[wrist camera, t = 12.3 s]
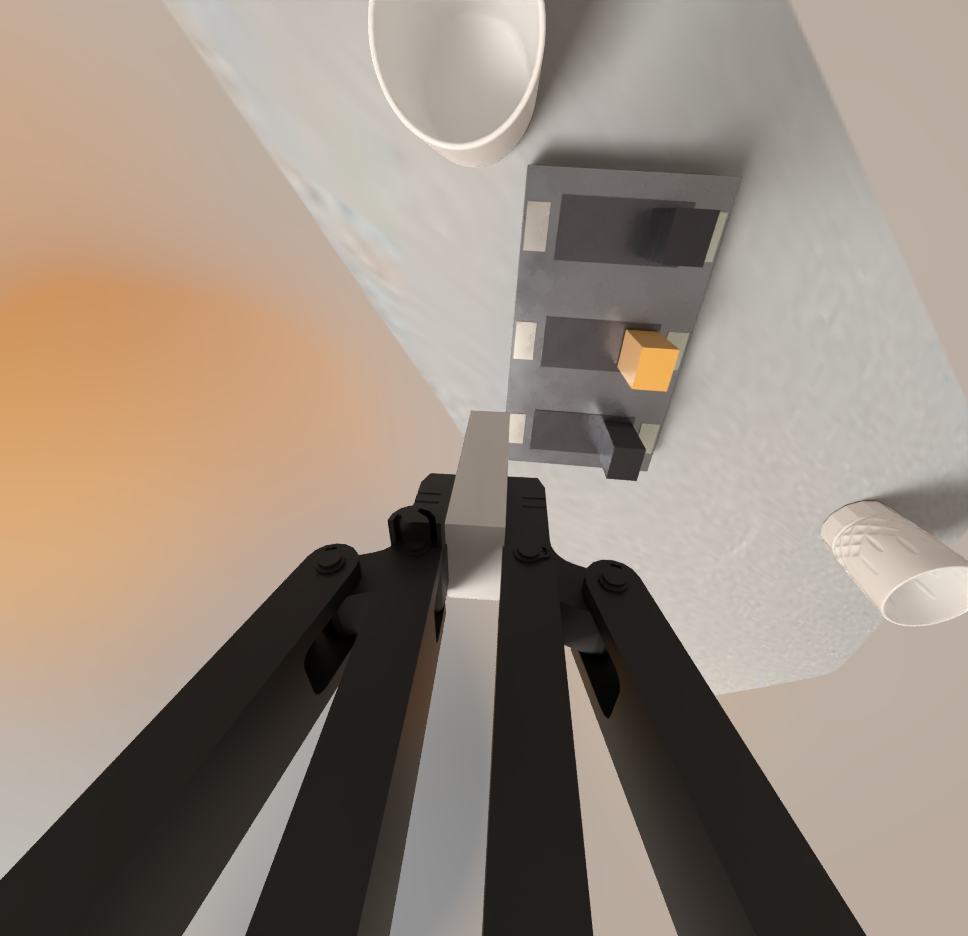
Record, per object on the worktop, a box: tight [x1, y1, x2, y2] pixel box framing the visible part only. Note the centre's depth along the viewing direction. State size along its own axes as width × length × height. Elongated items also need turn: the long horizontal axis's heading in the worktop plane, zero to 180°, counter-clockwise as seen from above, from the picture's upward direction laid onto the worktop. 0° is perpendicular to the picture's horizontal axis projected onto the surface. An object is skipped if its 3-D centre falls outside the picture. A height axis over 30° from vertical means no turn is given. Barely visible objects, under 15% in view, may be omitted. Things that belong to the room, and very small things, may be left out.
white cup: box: [820, 501, 968, 626], centre depth 40 cm, size 8×8×10 cm
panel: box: [506, 165, 742, 481], centre depth 32 cm, size 23×14×8 cm, turn 177°
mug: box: [368, 0, 546, 167], centre depth 22 cm, size 12×8×10 cm
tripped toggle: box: [617, 330, 680, 392], centre depth 30 cm, size 3×2×5 cm
